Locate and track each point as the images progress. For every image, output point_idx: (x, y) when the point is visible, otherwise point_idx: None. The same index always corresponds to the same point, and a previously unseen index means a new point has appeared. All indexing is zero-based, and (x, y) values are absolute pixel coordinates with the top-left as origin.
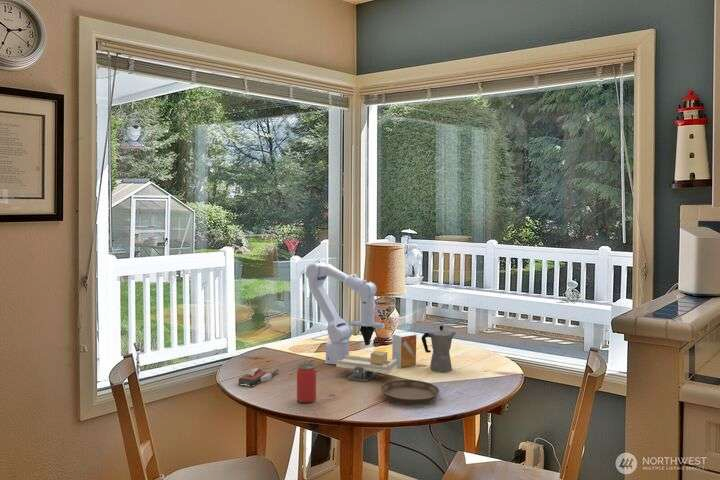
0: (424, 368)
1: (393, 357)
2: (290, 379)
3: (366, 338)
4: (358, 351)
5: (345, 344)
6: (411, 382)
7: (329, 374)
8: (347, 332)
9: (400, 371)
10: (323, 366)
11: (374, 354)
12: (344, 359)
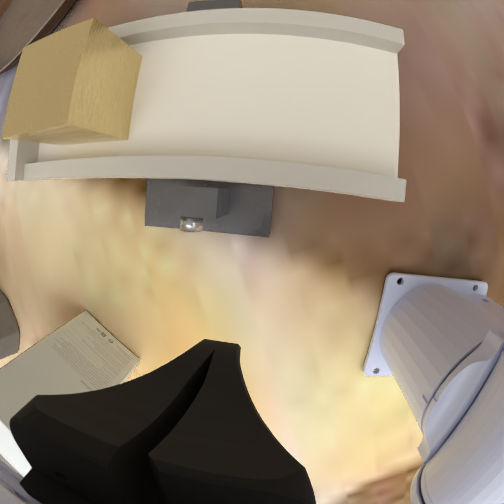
0: (27, 319)
1: (113, 371)
2: (500, 26)
3: (190, 373)
4: (350, 480)
5: (446, 365)
6: (10, 64)
7: (415, 89)
8: (465, 469)
9: (71, 254)
10: (483, 229)
11: (68, 27)
12: (388, 151)
